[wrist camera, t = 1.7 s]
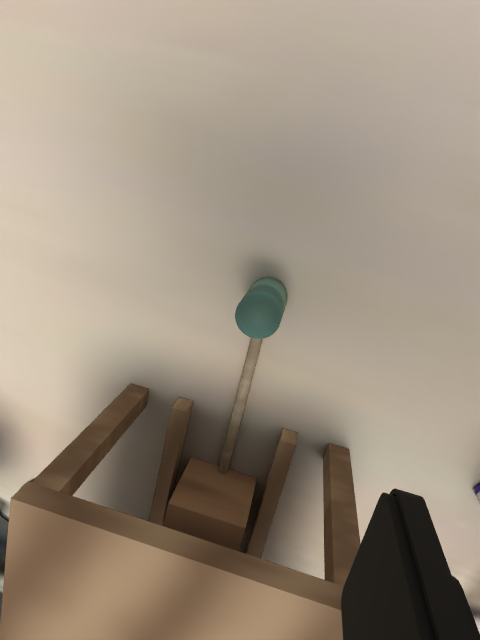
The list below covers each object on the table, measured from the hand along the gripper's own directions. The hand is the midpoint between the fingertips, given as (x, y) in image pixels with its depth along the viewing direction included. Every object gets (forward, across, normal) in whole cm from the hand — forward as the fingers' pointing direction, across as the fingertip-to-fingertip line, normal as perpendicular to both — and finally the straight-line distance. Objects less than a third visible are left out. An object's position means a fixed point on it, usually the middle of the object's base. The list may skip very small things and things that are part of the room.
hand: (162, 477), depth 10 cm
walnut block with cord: (+19, -1, +9) cm, 21 cm away
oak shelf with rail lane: (+19, 0, +16) cm, 25 cm away
